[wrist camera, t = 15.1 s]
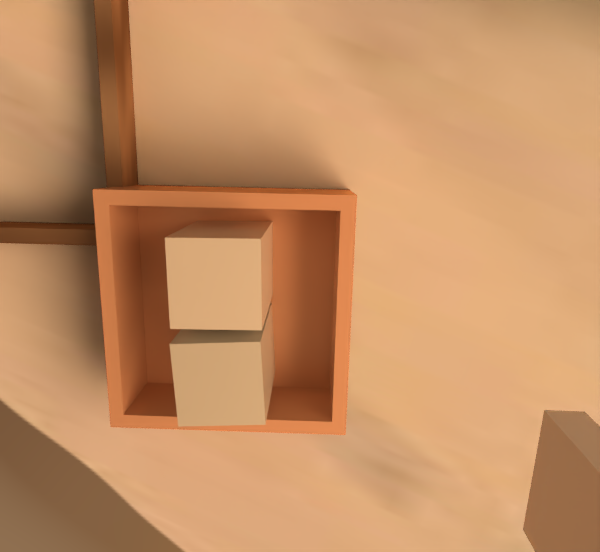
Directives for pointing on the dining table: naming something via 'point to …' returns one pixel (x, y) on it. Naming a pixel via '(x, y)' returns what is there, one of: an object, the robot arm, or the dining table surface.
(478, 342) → the dining table surface
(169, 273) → the cream tall block
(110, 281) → the orange storage bin
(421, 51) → the dining table surface
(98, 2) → the tray
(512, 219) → the dining table surface
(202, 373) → the beige rectangular block
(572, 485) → the robot arm
